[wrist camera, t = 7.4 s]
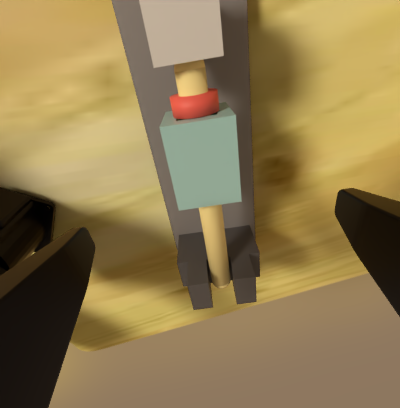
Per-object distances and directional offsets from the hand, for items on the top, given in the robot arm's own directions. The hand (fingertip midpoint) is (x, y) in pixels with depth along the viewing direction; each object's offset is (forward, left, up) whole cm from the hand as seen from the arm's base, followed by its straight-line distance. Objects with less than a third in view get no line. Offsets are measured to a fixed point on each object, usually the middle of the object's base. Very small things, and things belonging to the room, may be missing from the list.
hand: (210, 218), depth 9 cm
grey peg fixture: (-2, -1, -13) cm, 13 cm away
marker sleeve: (0, 0, -9) cm, 9 cm away
